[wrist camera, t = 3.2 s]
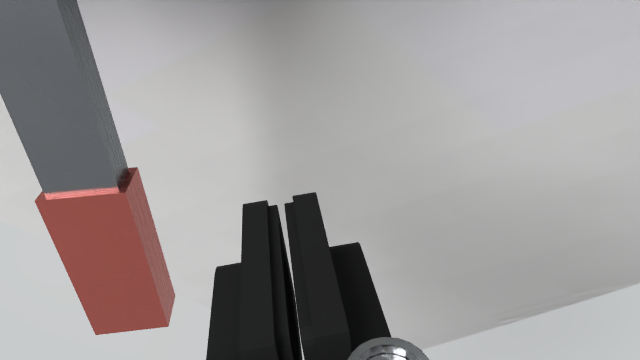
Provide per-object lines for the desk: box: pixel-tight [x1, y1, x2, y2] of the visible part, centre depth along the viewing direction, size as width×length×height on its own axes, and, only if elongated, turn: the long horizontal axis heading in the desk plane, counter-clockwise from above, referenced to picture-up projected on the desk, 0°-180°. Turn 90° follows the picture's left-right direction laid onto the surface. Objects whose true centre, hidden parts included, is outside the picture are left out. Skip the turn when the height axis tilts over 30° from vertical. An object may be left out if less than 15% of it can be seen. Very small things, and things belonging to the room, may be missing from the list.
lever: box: [0, 0, 175, 335], centre depth 10 cm, size 16×3×1 cm, turn 2°
